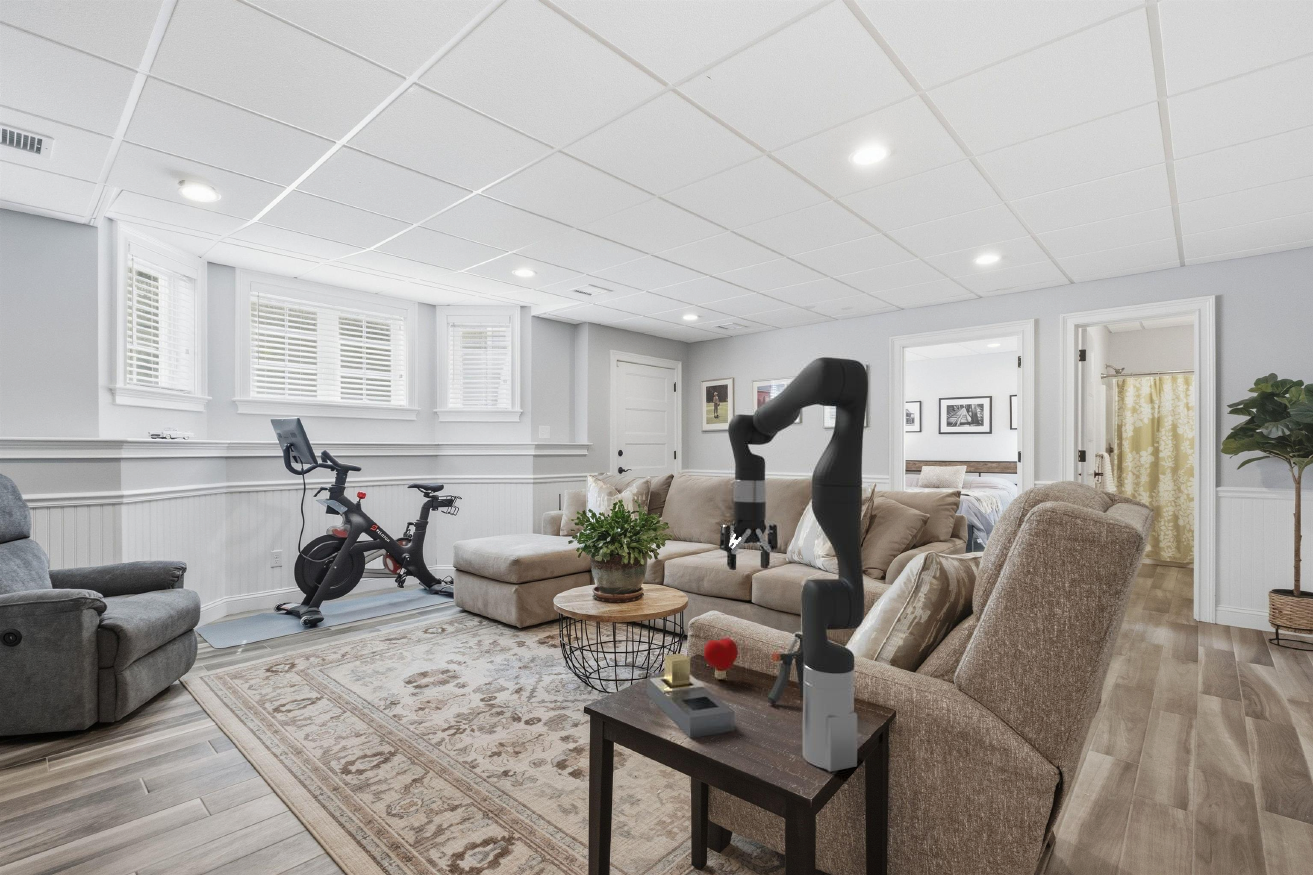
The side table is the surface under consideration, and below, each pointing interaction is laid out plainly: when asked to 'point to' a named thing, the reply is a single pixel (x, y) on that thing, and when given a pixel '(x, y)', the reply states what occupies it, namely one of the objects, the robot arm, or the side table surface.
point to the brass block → (677, 671)
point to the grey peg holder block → (692, 707)
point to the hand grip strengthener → (788, 670)
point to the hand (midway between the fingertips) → (748, 568)
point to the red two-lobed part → (720, 655)
